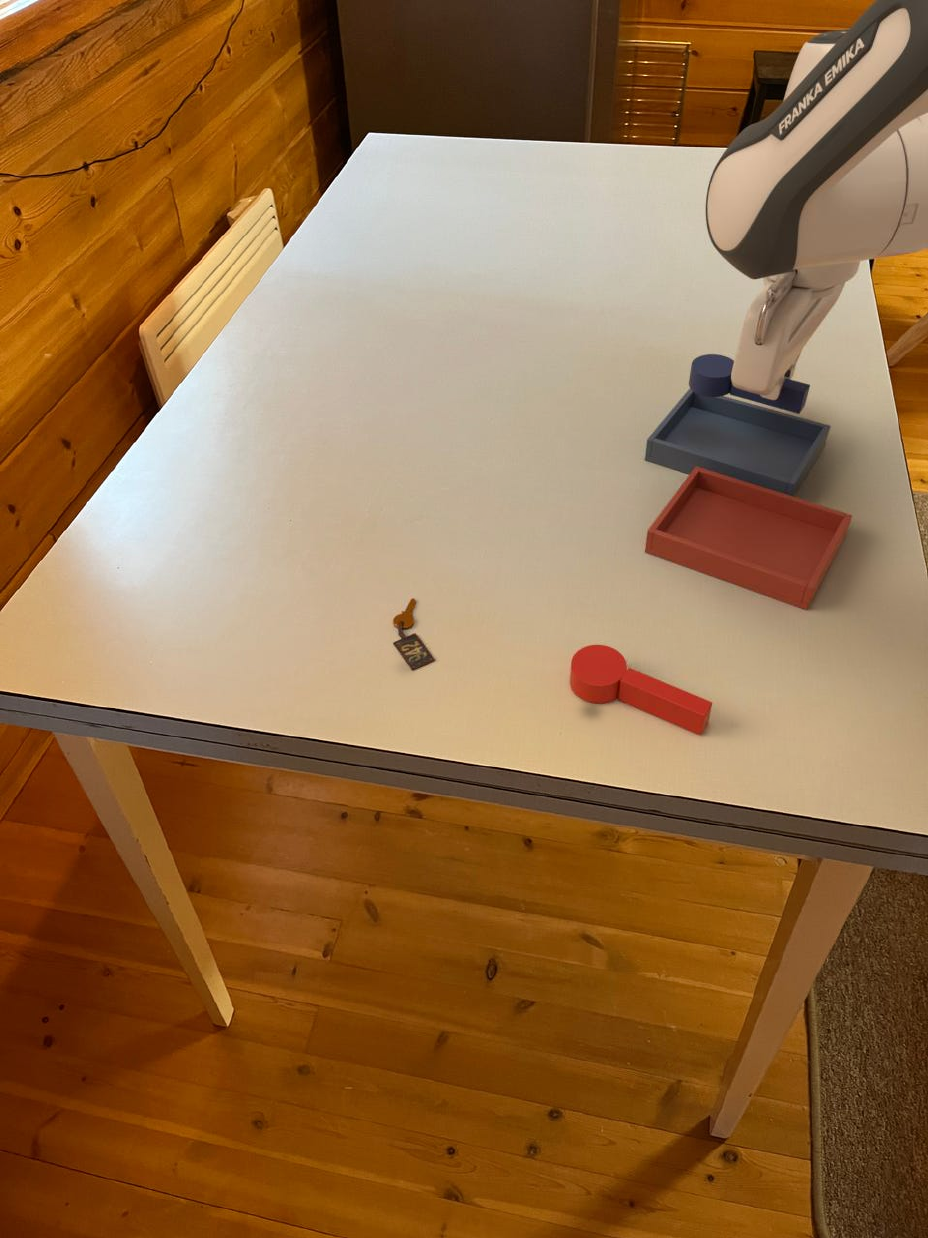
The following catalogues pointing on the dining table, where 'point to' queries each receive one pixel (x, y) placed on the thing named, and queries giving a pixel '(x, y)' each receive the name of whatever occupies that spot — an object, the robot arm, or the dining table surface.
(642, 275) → the dining table surface
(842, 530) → the red tray
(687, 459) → the blue tray
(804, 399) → the blue spoon
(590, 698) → the red spoon
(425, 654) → the key tag
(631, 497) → the dining table surface
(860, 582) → the dining table surface
